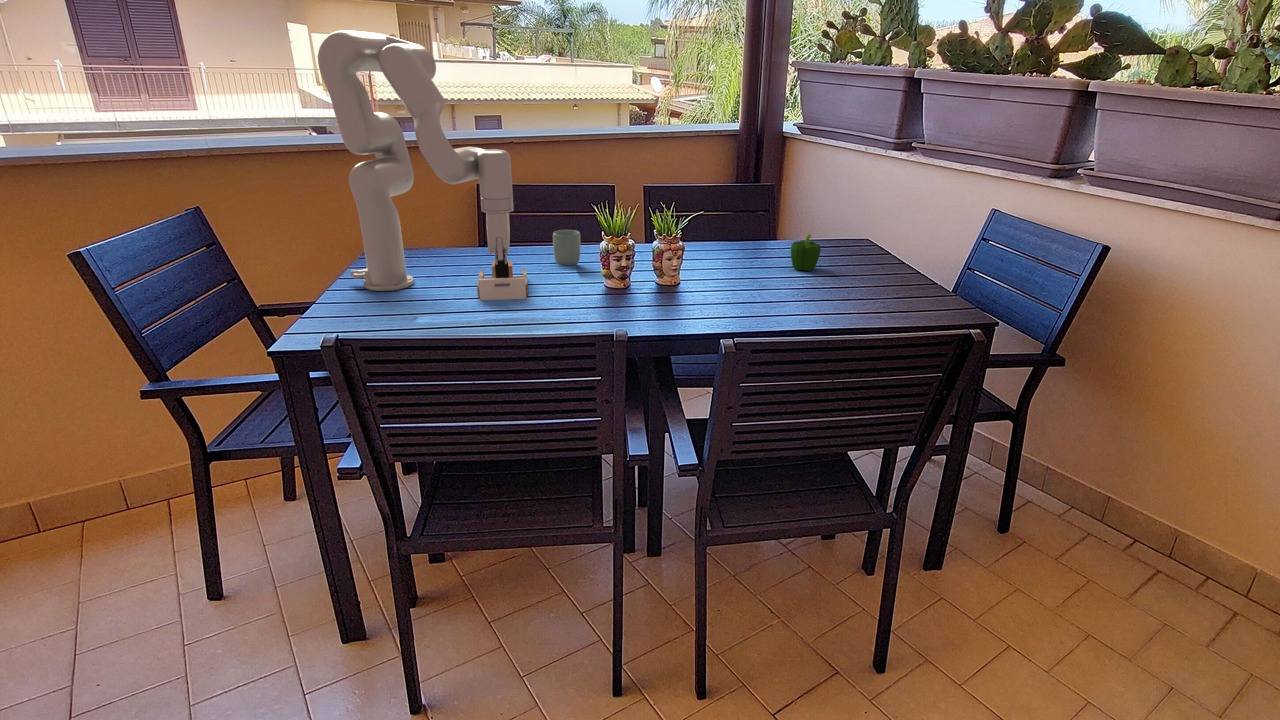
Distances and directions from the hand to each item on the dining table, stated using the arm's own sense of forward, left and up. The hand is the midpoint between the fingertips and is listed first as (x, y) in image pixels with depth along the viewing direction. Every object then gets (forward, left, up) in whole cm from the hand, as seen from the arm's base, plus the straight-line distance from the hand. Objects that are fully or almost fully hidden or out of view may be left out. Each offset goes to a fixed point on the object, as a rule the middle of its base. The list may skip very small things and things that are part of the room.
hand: (502, 278), depth 163 cm
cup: (+18, +27, -5) cm, 33 cm away
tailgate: (0, -5, -4) cm, 7 cm away
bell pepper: (+87, +16, -5) cm, 89 cm away
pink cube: (0, +5, -4) cm, 6 cm away
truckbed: (0, +3, -5) cm, 6 cm away
